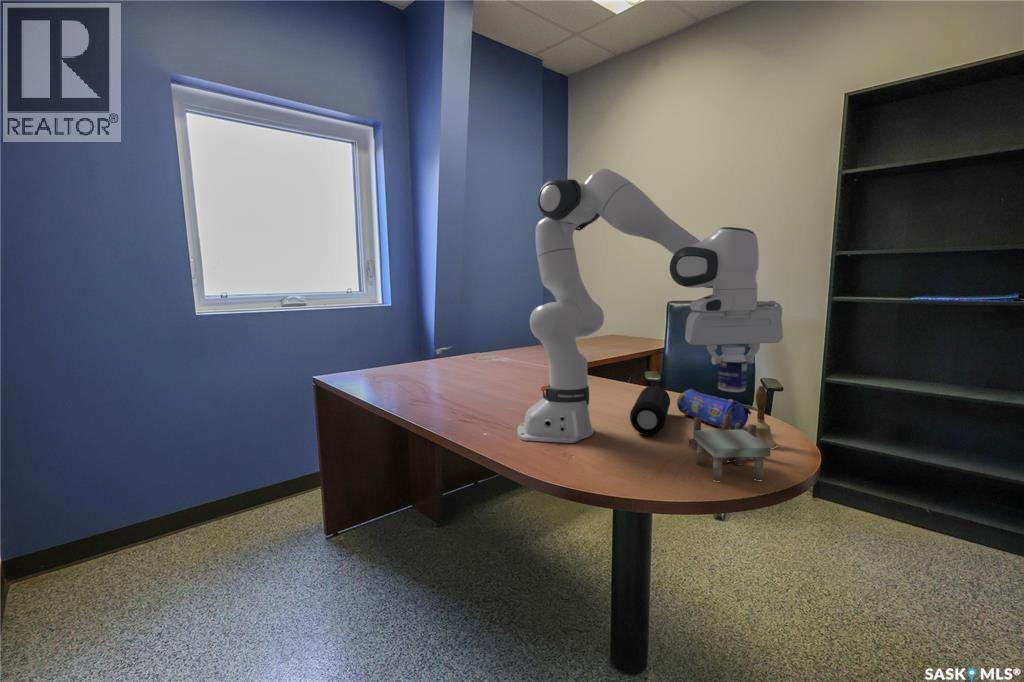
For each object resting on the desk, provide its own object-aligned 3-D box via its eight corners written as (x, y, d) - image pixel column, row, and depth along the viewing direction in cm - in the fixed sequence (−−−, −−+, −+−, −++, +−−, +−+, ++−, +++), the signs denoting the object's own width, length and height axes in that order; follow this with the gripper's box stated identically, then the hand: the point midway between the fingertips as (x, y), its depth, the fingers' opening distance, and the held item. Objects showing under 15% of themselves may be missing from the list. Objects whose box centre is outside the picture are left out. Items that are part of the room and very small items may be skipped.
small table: (713, 483, 98) (714, 448, 97) (692, 461, 110) (693, 430, 109) (768, 482, 98) (770, 447, 97) (742, 460, 110) (743, 429, 109)
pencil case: (751, 432, 130) (753, 400, 129) (729, 436, 127) (730, 403, 126) (695, 412, 151) (696, 384, 149) (674, 415, 147) (675, 387, 146)
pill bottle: (713, 390, 101) (714, 346, 100) (723, 385, 105) (724, 343, 104) (740, 394, 97) (742, 348, 96) (750, 389, 101) (751, 345, 100)
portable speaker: (664, 440, 125) (665, 405, 124) (628, 436, 129) (628, 402, 128) (670, 414, 149) (670, 385, 147) (639, 411, 153) (639, 383, 151)
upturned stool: (718, 463, 109) (719, 431, 108) (688, 446, 120) (689, 417, 119) (760, 457, 111) (761, 426, 110) (726, 441, 123) (727, 413, 122)
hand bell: (759, 451, 115) (762, 391, 113) (735, 441, 123) (737, 384, 121) (785, 447, 118) (788, 388, 116) (759, 437, 126) (762, 381, 123)
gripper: (774, 300, 102) (771, 360, 103) (683, 302, 102) (682, 362, 104) (790, 301, 95) (787, 365, 97) (693, 304, 96) (692, 367, 98)
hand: (732, 363), depth 101 cm, fingers closed on pill bottle, 6 cm apart
